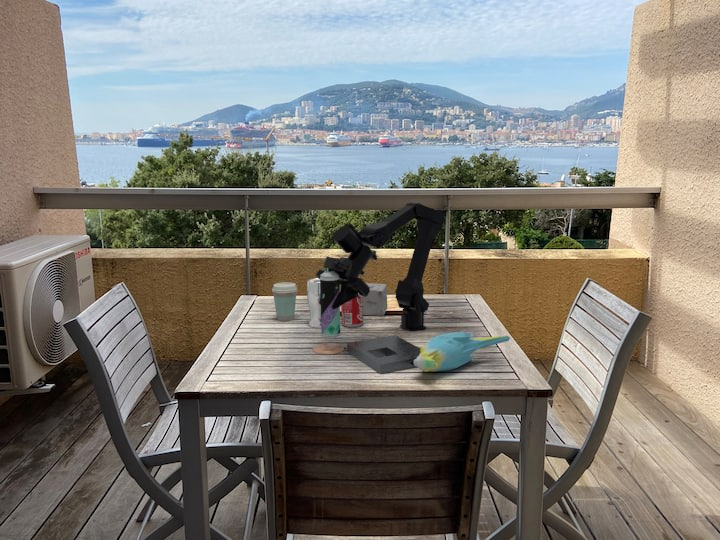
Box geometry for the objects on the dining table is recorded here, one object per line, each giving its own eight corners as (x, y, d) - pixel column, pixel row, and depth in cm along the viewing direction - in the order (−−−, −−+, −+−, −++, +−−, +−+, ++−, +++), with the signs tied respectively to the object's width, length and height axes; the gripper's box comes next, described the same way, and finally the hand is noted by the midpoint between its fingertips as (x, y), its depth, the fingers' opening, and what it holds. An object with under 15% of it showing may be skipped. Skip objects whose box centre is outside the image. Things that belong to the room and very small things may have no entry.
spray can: (320, 337, 173) (318, 268, 169) (322, 331, 179) (320, 264, 175) (339, 337, 173) (338, 268, 169) (341, 331, 178) (339, 264, 174)
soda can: (360, 328, 197) (360, 289, 195) (339, 327, 199) (338, 288, 196) (365, 322, 204) (364, 284, 202) (344, 321, 206) (343, 283, 203)
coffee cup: (303, 317, 210) (302, 283, 208) (287, 323, 203) (286, 288, 201) (283, 314, 215) (282, 280, 212) (267, 320, 208) (266, 285, 205)
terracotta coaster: (336, 342, 183) (336, 341, 183) (349, 351, 175) (349, 350, 175) (308, 347, 179) (308, 345, 179) (320, 356, 171) (320, 355, 171)
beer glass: (332, 323, 204) (331, 279, 201) (324, 328, 197) (323, 283, 194) (312, 321, 206) (311, 277, 203) (304, 327, 199) (303, 282, 196)
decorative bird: (394, 373, 159) (395, 339, 157) (469, 347, 178) (470, 317, 176) (434, 389, 148) (435, 352, 147) (509, 360, 168) (510, 327, 166)
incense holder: (355, 316, 212) (354, 286, 210) (361, 310, 220) (361, 281, 218) (382, 318, 209) (382, 288, 207) (388, 311, 217) (388, 283, 215)
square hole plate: (395, 343, 183) (395, 335, 182) (432, 363, 165) (432, 355, 165) (346, 351, 176) (346, 342, 175) (380, 373, 158) (380, 364, 158)
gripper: (320, 242, 180) (290, 284, 175) (361, 250, 166) (330, 296, 161) (341, 264, 187) (313, 306, 182) (382, 274, 173) (353, 319, 168)
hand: (326, 306), depth 173 cm, fingers closed on spray can, 5 cm apart
